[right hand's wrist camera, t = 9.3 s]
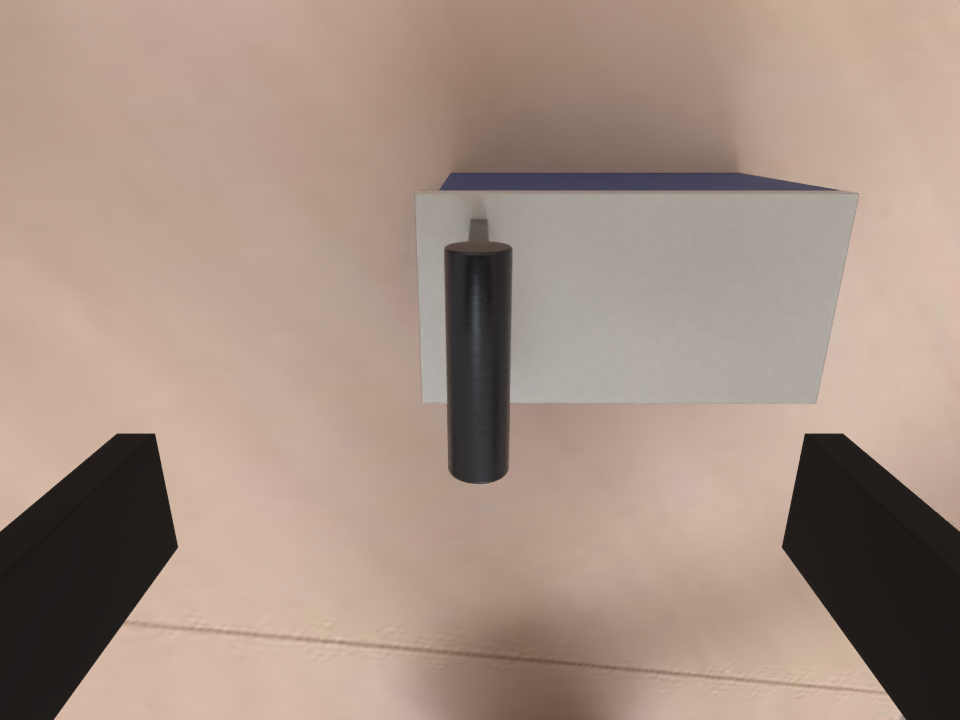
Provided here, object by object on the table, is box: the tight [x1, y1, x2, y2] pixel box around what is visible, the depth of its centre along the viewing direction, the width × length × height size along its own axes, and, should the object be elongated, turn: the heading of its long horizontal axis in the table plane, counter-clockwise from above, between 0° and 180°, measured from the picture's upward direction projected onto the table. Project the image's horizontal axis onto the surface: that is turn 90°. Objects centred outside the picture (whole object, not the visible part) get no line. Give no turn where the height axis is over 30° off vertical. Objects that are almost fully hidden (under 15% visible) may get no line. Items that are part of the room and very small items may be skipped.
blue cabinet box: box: [440, 173, 840, 191], centre depth 33 cm, size 17×9×11 cm, turn 90°
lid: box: [415, 190, 859, 484], centre depth 23 cm, size 18×9×9 cm, turn 90°
